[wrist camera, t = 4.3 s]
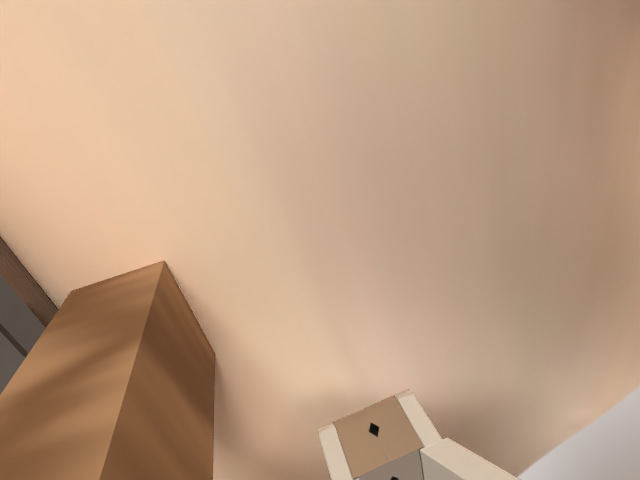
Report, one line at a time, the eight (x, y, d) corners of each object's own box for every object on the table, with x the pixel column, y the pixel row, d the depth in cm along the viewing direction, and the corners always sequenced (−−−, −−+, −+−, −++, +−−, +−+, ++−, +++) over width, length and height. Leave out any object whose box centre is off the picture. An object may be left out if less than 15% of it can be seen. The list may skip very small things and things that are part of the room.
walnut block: (164, 260, 15) (88, 515, 6) (214, 353, 18) (210, 616, 9) (71, 291, 15) (-149, 613, 6) (138, 381, 17) (58, 687, 9)
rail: (-17, 215, 12) (-39, 228, 11) (156, 433, 19) (153, 454, 18) (-53, 225, 12) (-78, 240, 11) (135, 441, 19) (130, 463, 18)
